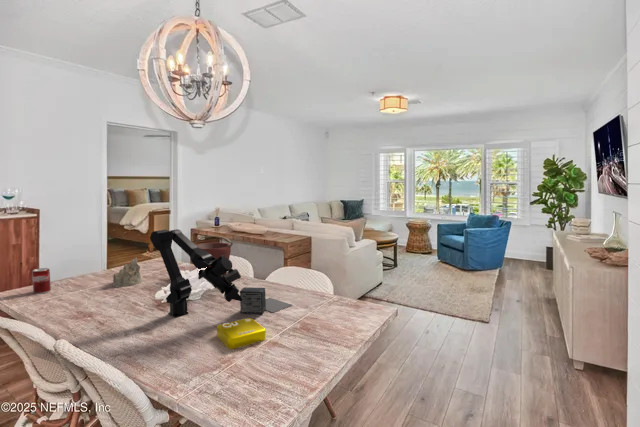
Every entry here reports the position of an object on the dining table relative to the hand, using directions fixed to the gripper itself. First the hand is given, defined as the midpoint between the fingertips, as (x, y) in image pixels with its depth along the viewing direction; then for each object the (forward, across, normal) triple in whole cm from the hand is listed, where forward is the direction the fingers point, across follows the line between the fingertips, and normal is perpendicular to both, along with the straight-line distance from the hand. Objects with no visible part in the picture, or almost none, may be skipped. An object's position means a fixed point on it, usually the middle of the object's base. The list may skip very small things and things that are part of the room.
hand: (241, 300), depth 156 cm
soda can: (-57, +74, +68) cm, 116 cm away
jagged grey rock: (-30, +76, +40) cm, 91 cm away
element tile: (+2, -21, +9) cm, 23 cm away
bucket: (+4, +75, +6) cm, 75 cm away
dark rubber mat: (+16, +8, -6) cm, 19 cm away
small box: (+9, +3, +1) cm, 10 cm away
